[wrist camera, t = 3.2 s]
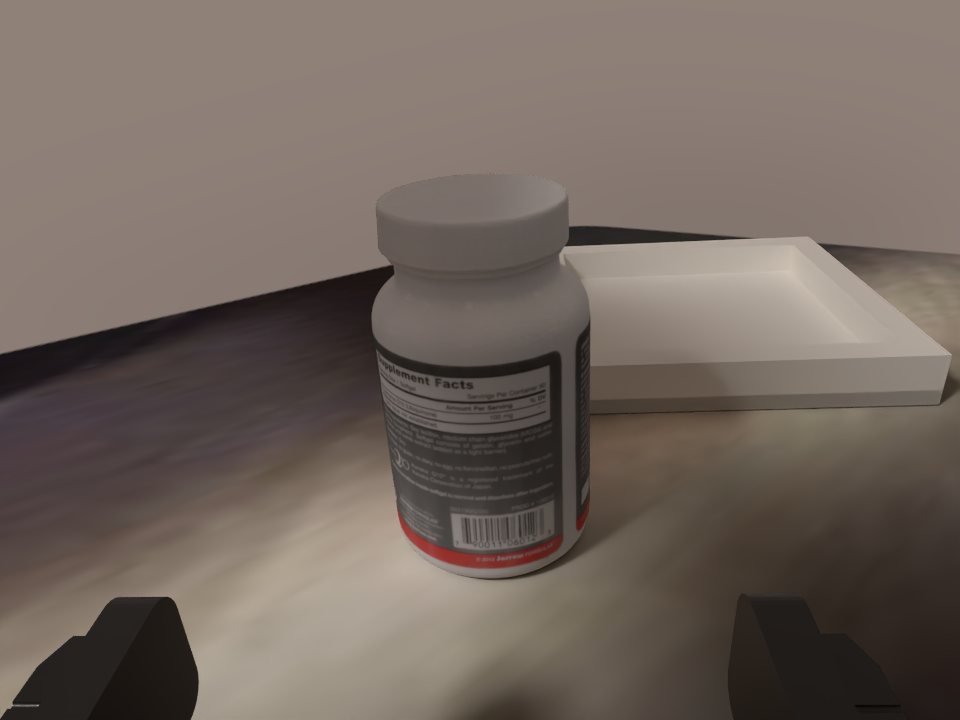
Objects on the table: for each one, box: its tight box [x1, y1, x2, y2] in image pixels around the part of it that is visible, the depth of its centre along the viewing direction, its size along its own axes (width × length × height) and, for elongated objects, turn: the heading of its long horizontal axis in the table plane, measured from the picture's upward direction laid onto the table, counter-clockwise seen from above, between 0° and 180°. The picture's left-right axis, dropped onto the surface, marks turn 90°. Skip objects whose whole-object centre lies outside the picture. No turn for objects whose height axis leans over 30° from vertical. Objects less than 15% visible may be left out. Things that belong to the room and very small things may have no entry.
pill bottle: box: [372, 174, 590, 578], centre depth 20 cm, size 6×6×10 cm
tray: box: [559, 237, 952, 414], centre depth 33 cm, size 14×14×2 cm
